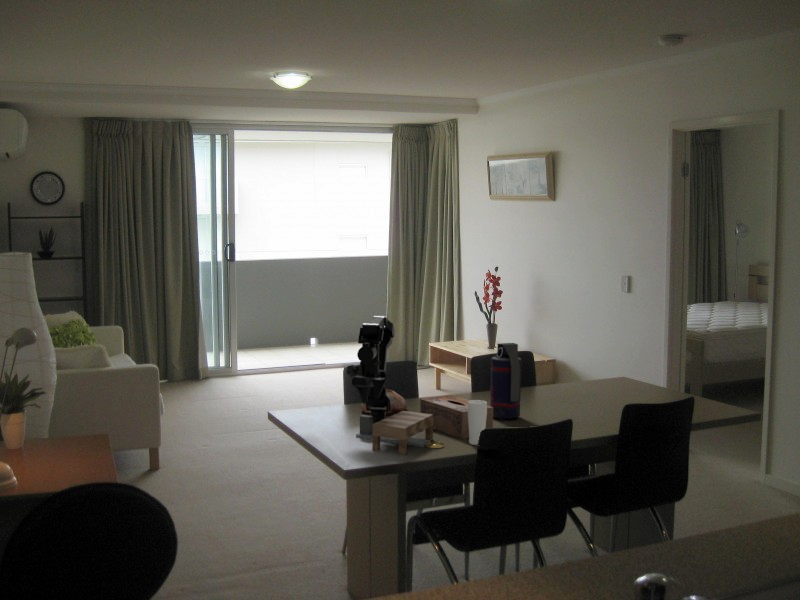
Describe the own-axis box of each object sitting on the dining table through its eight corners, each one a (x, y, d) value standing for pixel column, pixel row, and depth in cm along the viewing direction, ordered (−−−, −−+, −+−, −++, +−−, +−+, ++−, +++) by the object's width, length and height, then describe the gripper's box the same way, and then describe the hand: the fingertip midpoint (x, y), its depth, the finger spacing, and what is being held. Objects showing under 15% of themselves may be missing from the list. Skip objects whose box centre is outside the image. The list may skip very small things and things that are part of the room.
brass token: (430, 444, 292) (430, 440, 292) (446, 446, 289) (446, 443, 289) (423, 448, 286) (423, 444, 286) (439, 450, 284) (439, 447, 284)
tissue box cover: (420, 424, 320) (420, 398, 319) (449, 419, 328) (450, 394, 327) (462, 439, 298) (462, 411, 298) (492, 433, 307) (493, 407, 306)
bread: (352, 413, 341) (352, 388, 340) (390, 406, 353) (389, 383, 353) (377, 418, 328) (376, 393, 327) (415, 411, 340) (414, 387, 340)
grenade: (484, 415, 335) (486, 341, 332) (510, 413, 339) (512, 340, 336) (501, 423, 322) (503, 346, 319) (528, 420, 326) (530, 345, 324)
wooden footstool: (402, 435, 302) (403, 410, 301) (432, 439, 297) (433, 414, 296) (372, 450, 282) (372, 424, 281) (404, 454, 276) (404, 428, 275)
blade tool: (364, 434, 304) (364, 413, 303) (429, 444, 292) (430, 422, 291) (356, 438, 298) (356, 416, 298) (422, 448, 286) (422, 425, 286)
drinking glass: (469, 440, 296) (470, 399, 294) (487, 442, 294) (488, 400, 292) (465, 445, 289) (465, 403, 288) (484, 447, 287) (485, 404, 286)
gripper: (363, 353, 308) (363, 394, 310) (338, 360, 292) (337, 403, 293) (390, 355, 303) (390, 397, 305) (365, 362, 287) (365, 407, 288)
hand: (370, 401), depth 298 cm, fingers open, 9 cm apart
